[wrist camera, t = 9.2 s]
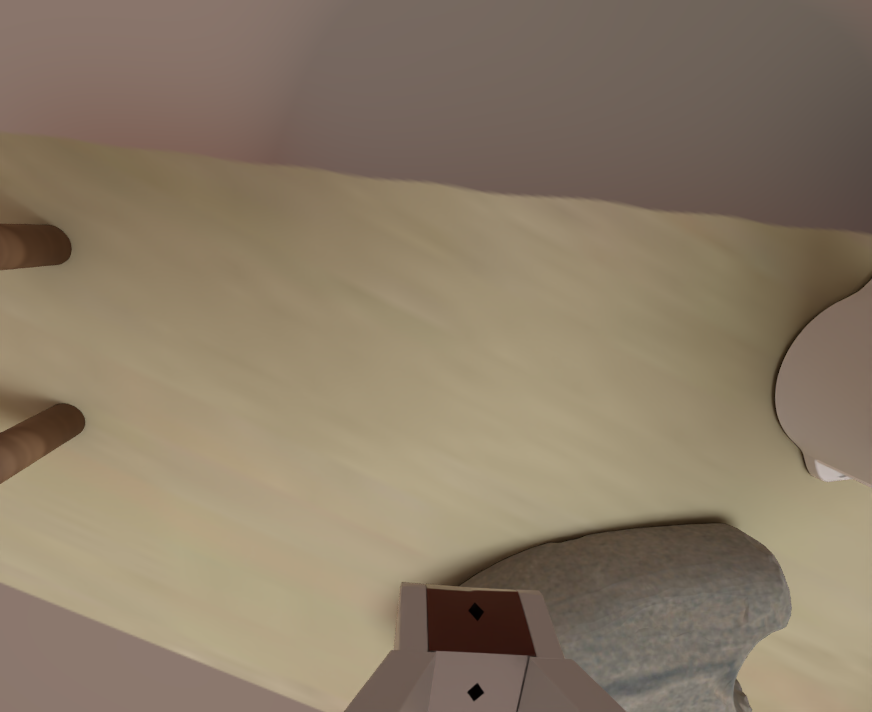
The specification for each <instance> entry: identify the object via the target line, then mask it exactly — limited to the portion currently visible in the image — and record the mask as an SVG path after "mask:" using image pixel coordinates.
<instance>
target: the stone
mask: <svg viewBox="0 0 872 712" xmlns="http://www.w3.org/2000/svg"><path fill="white" fill-rule="evenodd" d="M459 587H471V588H490V589H509V590H538V591H540V593H541V594H542V595H543V598H544V601H545V604H546V607H547V610H548V612H549V615H550V618H551V621H552V624H553V626H554V629H555V632H556V635H557V638H558V640H559V643H560V646H561V649H562V652H563V654H564V657H565V659H573V660H574V661H575V662H576V663H577V664H578V665H579V666H580V667H581V668H582V669H583V670H584V671H585V672H586V673H587V674H588V675H589V676H590V677H591V678H592V679H593V680H594V681H595V682H596V683H597V684H598V685H599V686H601V687H602V688H603V689H604V690H605V691H606V692H607V693H608V694H609V695H610V696H611V697H612V698H613V699H614V700H615V701H616V702H617V703H618V704H619V705H620V706H621V707H622V708H623V709H624V710H625V711H626V712H752V709H751V707H750V705H749V702H748V699H747V696H746V695H745V694H744V693H743V692H742V688H741V686H740V684H739V682H738V681H737V679H736V677H737V674H738V672H739V670H740V668H741V666H742V664H743V662H744V661H745V659H746V657H747V656H748V654H749V653H750V652H751V650H752V649H753V648H754V647H755V645H756V644H757V643H758V642H759V641H761V640H762V639H764V638H765V637H766V636H768V635H769V634H771V633H772V632H775V631H778V630H780V629H783V628H784V627H786V626H787V624H788V621H789V619H790V616H791V609H792V607H791V597H790V591H789V588H788V585H787V582H786V579H785V576H784V574H783V571H782V569H781V567H780V565H779V563H778V561H777V559H776V558H775V556H774V555H773V554H772V553H771V552H770V551H769V550H768V549H767V548H766V547H765V546H764V545H763V544H761V543H760V542H758V541H757V540H755V539H754V538H752V537H750V536H749V535H747V534H745V533H744V532H742V531H740V530H739V529H737V528H735V527H732V526H730V525H727V524H722V523H713V524H688V525H673V526H661V527H647V528H635V529H627V530H620V531H609V532H603V533H596V534H591V535H586V536H584V537H581V538H578V539H575V540H569V541H565V542H562V543H546V544H543V545H540V546H536V547H533V548H530V549H528V550H525V551H523V552H520V553H518V554H515V555H513V556H511V557H508V558H506V559H504V560H502V561H500V562H498V563H496V564H494V565H492V566H491V567H489V568H487V569H485V570H483V571H482V572H480V573H478V574H476V575H475V576H473V577H472V578H470V579H469V580H467V581H466V582H464V583H463V584H461V585H460V586H459Z"/></svg>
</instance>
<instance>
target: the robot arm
mask: <svg viewBox="0 0 872 712" xmlns="http://www.w3.org/2000/svg"><path fill="white" fill-rule="evenodd" d="M775 404H776V411H777V415H778V418H779V421H780V424H781V426H782V428H783V429H784V431H785V433H786V434H787V435H788V436H789V438H790V439H791V440H792V441H793V442H794V443H795V444H796V445H797V446H798V447H799V448H800V449H801V451H802V452H803V455H804V459H805V463H806V466H807V469H808V471H809V473H810V474H811V475H812V476H813V477H816V478H818V479H820V480H822V481H826V482H831V481H839V480H847V479H854V480H856V481H858V482H860V483H863V484H865V485H867V486H869V487H871V488H872V279H871V280H870V281H869V282H868V283H867V284H866V285H865V286H864V287H863V288H862V289H861V290H859V291H858V292H856V293H855V294H853V295H851V296H849V297H847V298H845V299H843V300H841V301H839V302H837V303H835V304H833V305H832V306H830V307H829V308H827V309H826V310H824V311H823V312H821V313H820V314H819V315H818V316H817V317H815V318H814V319H813V320H812V321H811V322H810V323H809V324H808V325H807V326H806V327H805V328H804V329H803V330H802V332H801V333H800V334H799V335H798V337H797V338H796V339H795V341H794V342H793V344H792V345H791V347H790V349H789V350H788V352H787V354H786V356H785V358H784V360H783V363H782V365H781V368H780V371H779V374H778V378H777V383H776V391H775ZM344 712H626V711H625V710H624V709H623V708H622V707H621V706H620V705H619V704H618V703H617V702H616V701H615V700H614V699H613V698H612V697H611V696H610V695H609V694H608V693H607V692H606V691H605V690H604V689H603V688H602V687H601V686H599V685H598V684H597V683H596V682H595V681H594V680H593V679H592V678H591V677H590V676H589V675H588V674H587V673H586V672H585V671H584V670H583V669H582V668H581V667H580V666H579V665H578V664H577V663H576V662H575V661H574V660H573V659H565V657H564V654H563V652H562V649H561V646H560V643H559V640H558V638H557V635H556V632H555V629H554V626H553V624H552V621H551V618H550V615H549V612H548V610H547V607H546V604H545V601H544V598H543V595H542V594H541V593H540V591H538V590H509V589H490V588H471V587H458V586H447V585H435V584H418V583H407V582H402V583H401V587H400V595H399V604H398V612H397V620H396V629H395V640H394V650H391V651H390V652H389V654H388V655H387V656H386V658H385V659H384V660H383V662H382V663H381V664H380V665H379V667H378V668H377V669H376V671H375V672H374V673H373V674H372V676H371V677H370V678H369V680H368V681H367V682H366V684H365V685H364V686H363V687H362V689H361V690H360V691H359V693H358V694H357V695H356V697H355V698H354V699H353V700H352V702H351V703H350V704H349V706H348V707H347V708H346V710H345V711H344Z"/></svg>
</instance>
